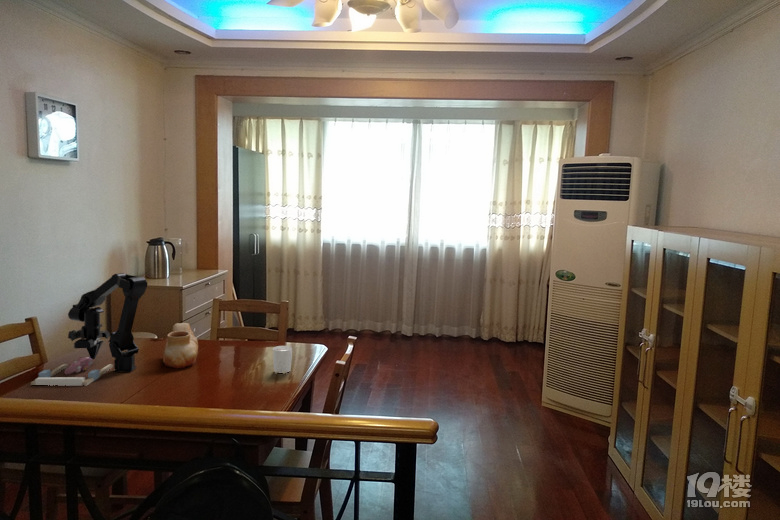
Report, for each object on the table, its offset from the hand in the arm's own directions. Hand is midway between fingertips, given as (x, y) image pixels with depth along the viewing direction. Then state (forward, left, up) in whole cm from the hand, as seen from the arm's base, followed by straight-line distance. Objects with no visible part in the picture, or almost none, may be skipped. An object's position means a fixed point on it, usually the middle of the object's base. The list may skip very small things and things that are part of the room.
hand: (92, 359), depth 212 cm
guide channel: (0, +15, -2) cm, 15 cm away
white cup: (-79, +10, -2) cm, 80 cm away
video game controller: (+1, +10, -2) cm, 10 cm away
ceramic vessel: (-34, -6, -2) cm, 35 cm away
